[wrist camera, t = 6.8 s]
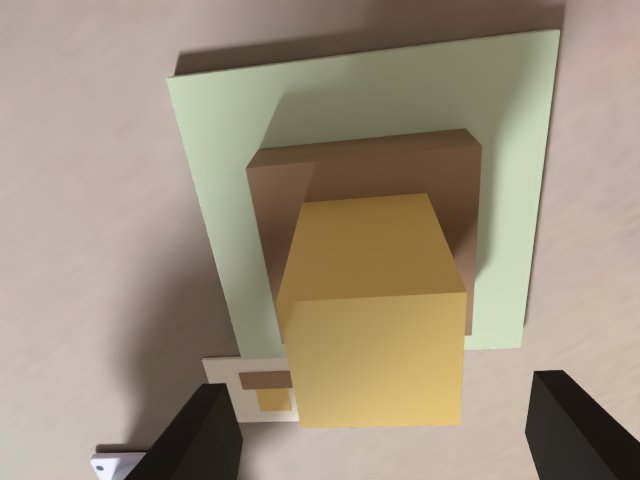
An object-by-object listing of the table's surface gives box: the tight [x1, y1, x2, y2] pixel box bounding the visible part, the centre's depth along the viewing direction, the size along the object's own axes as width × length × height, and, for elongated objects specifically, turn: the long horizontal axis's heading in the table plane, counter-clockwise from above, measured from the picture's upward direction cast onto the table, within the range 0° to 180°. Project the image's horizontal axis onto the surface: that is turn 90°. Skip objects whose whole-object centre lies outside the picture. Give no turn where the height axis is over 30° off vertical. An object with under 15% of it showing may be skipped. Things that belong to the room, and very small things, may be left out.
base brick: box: [245, 128, 482, 344], centre depth 17 cm, size 8×8×2 cm
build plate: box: [166, 29, 560, 360], centre depth 19 cm, size 14×14×1 cm
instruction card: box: [202, 356, 299, 423], centre depth 24 cm, size 5×7×1 cm
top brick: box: [276, 193, 467, 428], centre depth 14 cm, size 4×4×6 cm
